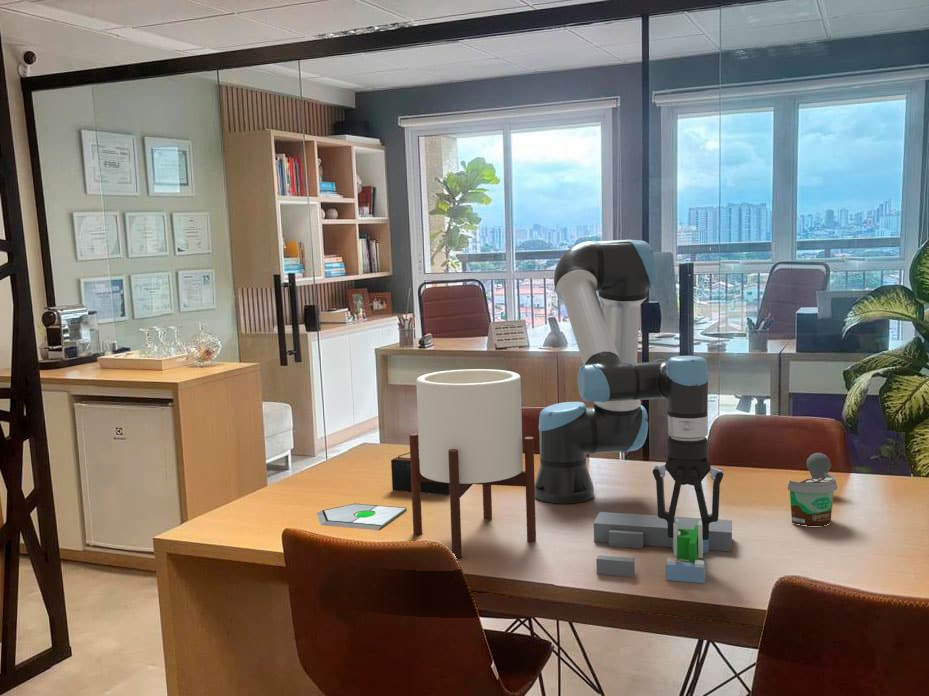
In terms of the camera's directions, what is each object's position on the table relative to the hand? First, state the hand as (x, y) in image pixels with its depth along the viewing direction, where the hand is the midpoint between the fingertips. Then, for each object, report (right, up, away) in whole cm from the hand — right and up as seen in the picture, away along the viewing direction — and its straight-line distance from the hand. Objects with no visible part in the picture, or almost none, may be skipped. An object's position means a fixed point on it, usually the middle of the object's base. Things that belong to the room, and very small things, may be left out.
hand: (688, 554), depth 164 cm
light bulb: (+44, +4, +44) cm, 63 cm away
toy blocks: (-4, -2, +6) cm, 8 cm away
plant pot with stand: (-42, -1, +20) cm, 46 cm away
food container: (+34, +1, +21) cm, 41 cm away
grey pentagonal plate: (-71, -1, +38) cm, 81 cm away
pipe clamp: (0, -1, +1) cm, 1 cm away
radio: (-54, +2, +57) cm, 78 cm away
